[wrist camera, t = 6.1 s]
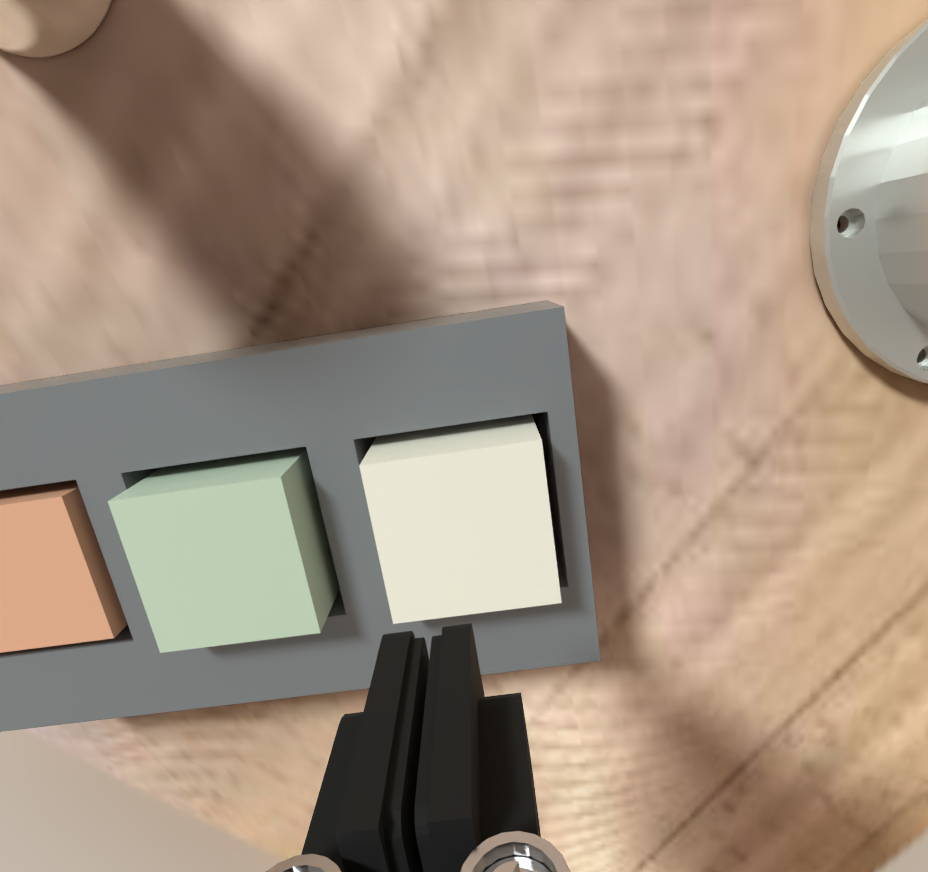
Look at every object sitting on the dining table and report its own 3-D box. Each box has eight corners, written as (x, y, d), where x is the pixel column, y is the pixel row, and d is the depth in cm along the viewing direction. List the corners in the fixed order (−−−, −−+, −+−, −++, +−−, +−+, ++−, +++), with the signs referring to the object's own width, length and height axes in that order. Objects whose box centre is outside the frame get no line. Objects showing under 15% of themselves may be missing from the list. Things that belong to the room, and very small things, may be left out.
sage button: (317, 437, 20) (280, 476, 16) (348, 568, 22) (320, 633, 18) (176, 458, 20) (107, 501, 17) (215, 585, 22) (160, 652, 18)
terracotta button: (134, 457, 22) (61, 496, 18) (173, 577, 23) (114, 638, 19) (6, 475, 22) (-93, 518, 18) (53, 593, 23) (-30, 656, 20)
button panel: (547, 300, 20) (563, 306, 16) (579, 597, 23) (600, 660, 20) (-51, 393, 21) (-166, 419, 18) (58, 662, 25) (-18, 733, 21)
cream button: (528, 407, 20) (541, 439, 16) (545, 542, 21) (561, 603, 17) (381, 428, 20) (359, 465, 16) (407, 561, 21) (393, 623, 18)
